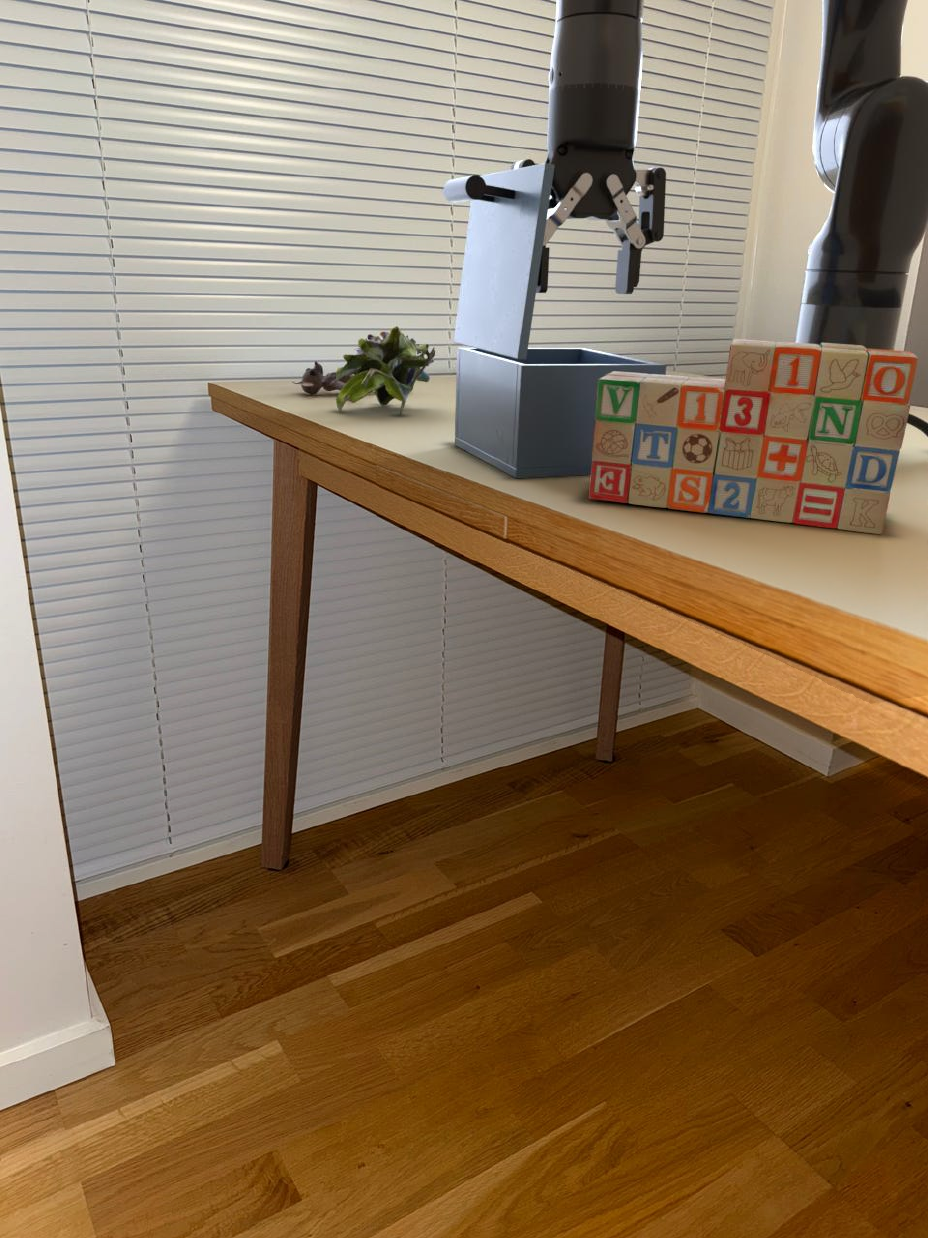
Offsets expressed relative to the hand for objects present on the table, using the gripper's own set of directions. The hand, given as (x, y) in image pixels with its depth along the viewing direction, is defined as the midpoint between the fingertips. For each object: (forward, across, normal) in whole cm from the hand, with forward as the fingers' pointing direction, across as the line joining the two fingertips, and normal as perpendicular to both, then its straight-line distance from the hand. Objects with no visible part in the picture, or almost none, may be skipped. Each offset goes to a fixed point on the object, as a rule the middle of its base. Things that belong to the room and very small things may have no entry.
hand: (582, 293), depth 83 cm
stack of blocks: (+15, +3, -21) cm, 26 cm away
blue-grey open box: (+15, -2, 0) cm, 15 cm away
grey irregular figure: (+15, -10, +46) cm, 50 cm away
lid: (-2, -8, 0) cm, 8 cm away
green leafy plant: (+15, -10, +30) cm, 35 cm away
